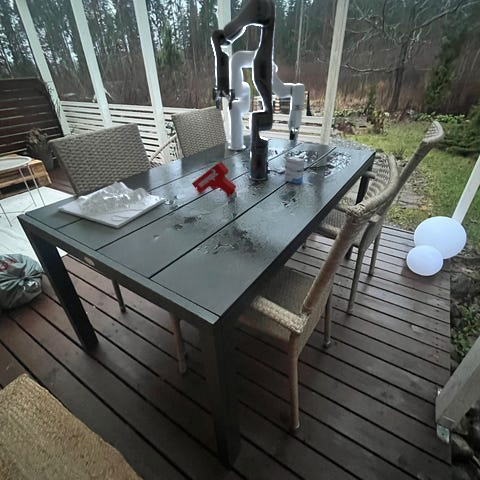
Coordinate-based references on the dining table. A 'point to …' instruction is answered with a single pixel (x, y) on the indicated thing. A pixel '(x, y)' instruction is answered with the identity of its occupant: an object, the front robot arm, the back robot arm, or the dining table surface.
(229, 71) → the front robot arm
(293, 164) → the ink box
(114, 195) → the relief map
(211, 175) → the toy gun
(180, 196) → the dining table surface
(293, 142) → the metal cylinder
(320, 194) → the dining table surface
